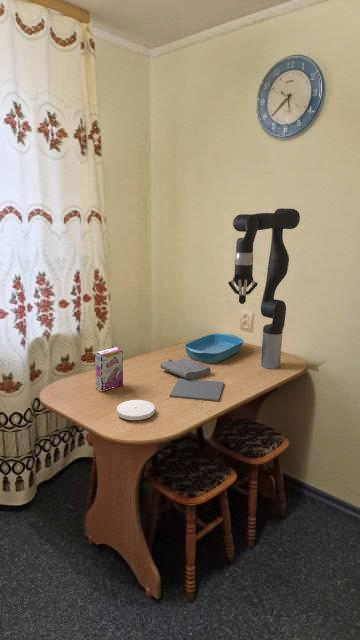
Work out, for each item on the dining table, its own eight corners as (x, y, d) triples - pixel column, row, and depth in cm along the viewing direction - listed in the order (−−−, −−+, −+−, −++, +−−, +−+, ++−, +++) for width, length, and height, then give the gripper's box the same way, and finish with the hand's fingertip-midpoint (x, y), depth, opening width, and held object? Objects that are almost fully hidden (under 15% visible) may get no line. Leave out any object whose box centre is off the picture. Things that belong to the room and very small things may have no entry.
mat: (179, 379, 194) (179, 378, 194) (223, 383, 190) (223, 382, 190) (169, 396, 176) (169, 395, 176) (218, 401, 172) (218, 399, 172)
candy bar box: (102, 392, 179) (101, 354, 175) (95, 389, 183) (94, 352, 179) (124, 385, 187) (123, 349, 183) (117, 382, 190) (116, 346, 186)
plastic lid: (155, 422, 155) (155, 415, 155) (115, 423, 154) (115, 416, 153) (154, 405, 169) (154, 399, 168) (118, 406, 168) (117, 400, 167)
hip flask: (186, 372, 190) (156, 361, 204) (185, 381, 191) (156, 369, 205) (210, 367, 201) (181, 356, 215) (210, 375, 201) (181, 364, 216)
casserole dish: (212, 368, 209) (213, 354, 207) (176, 359, 222) (176, 345, 220) (249, 350, 237) (250, 338, 235) (215, 342, 250) (215, 331, 248)
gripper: (260, 262, 184) (257, 302, 188) (229, 261, 187) (227, 301, 191) (259, 264, 177) (257, 306, 181) (227, 263, 180) (225, 304, 184)
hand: (242, 303), depth 186 cm, fingers closed
